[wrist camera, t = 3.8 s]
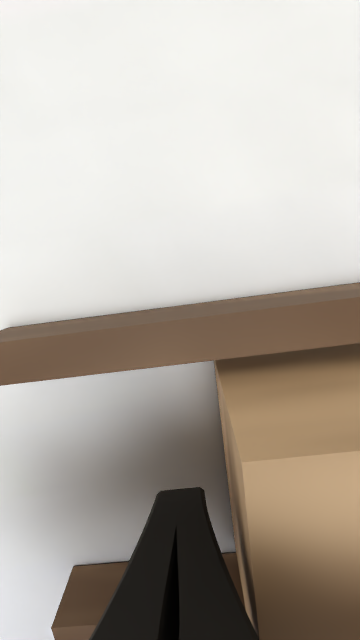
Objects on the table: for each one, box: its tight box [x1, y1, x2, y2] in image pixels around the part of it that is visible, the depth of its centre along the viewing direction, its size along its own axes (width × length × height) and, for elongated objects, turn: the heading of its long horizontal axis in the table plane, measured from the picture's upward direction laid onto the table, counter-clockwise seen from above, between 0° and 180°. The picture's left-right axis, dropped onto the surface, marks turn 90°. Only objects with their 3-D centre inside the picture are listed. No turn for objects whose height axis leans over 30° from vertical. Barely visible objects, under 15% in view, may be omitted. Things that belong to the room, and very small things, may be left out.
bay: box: [0, 283, 360, 640], centre depth 9 cm, size 11×21×2 cm, turn 98°
